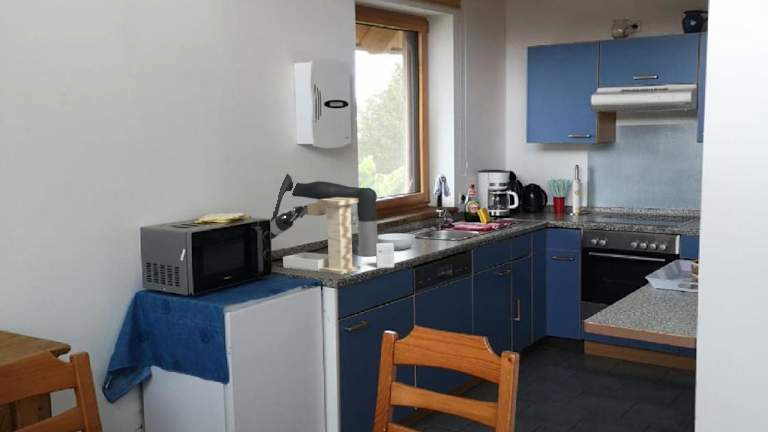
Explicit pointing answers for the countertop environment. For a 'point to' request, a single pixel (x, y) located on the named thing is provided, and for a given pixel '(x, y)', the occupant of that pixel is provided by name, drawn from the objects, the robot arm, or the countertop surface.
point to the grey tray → (306, 261)
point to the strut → (313, 209)
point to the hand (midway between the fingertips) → (304, 207)
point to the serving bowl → (397, 240)
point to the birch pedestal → (339, 235)
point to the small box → (385, 255)
